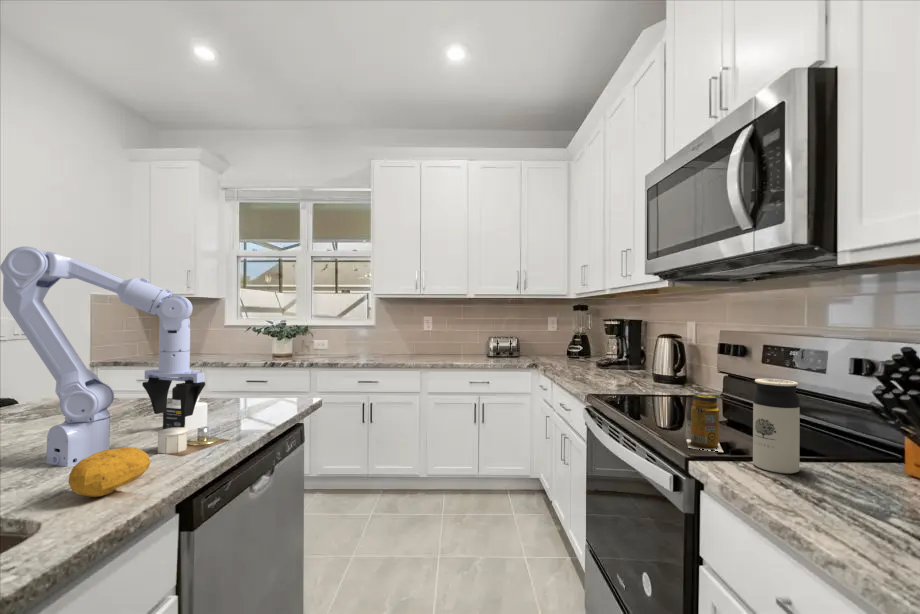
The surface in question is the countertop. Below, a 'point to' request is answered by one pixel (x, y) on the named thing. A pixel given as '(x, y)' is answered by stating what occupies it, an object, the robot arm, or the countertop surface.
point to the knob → (202, 438)
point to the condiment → (704, 423)
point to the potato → (107, 471)
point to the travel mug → (776, 426)
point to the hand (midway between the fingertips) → (173, 414)
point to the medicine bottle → (175, 419)
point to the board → (192, 448)
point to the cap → (172, 440)
